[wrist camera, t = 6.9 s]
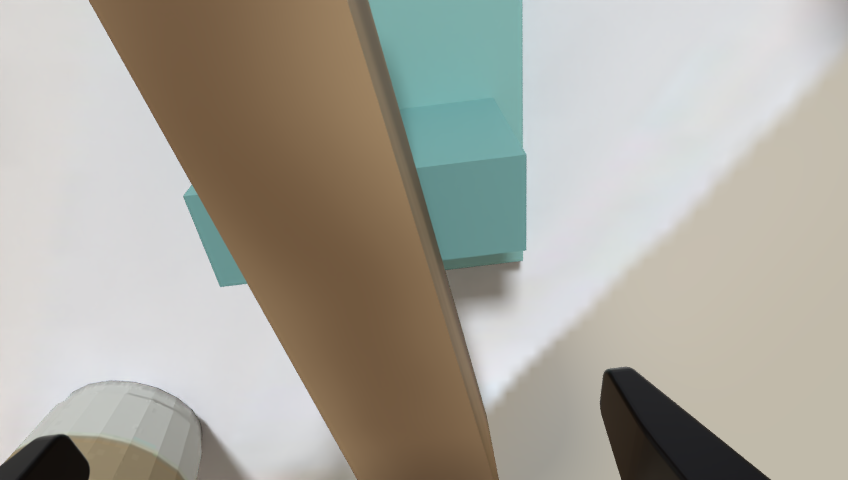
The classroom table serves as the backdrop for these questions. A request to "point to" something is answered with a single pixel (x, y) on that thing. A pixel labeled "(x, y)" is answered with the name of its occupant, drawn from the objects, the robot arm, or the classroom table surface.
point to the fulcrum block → (447, 127)
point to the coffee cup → (128, 432)
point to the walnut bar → (318, 214)
